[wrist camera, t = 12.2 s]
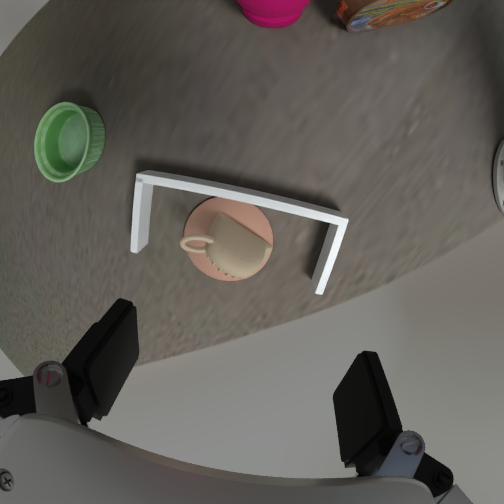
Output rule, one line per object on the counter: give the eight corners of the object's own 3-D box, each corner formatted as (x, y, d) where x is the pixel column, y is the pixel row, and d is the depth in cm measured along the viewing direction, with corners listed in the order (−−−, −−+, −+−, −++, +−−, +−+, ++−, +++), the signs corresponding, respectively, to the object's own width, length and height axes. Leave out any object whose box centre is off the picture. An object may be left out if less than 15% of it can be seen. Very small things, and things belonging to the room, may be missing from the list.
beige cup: (252, 274, 31) (249, 300, 26) (188, 232, 29) (173, 251, 24) (274, 247, 29) (275, 269, 24) (208, 201, 28) (196, 215, 23)
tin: (339, 40, 20) (364, 8, 13) (323, 18, 19) (341, -19, 12) (433, 17, 17) (469, -3, 9) (418, -3, 16) (451, -27, 8)
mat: (282, 207, 28) (282, 207, 27) (261, 287, 31) (261, 288, 31) (191, 187, 27) (190, 188, 27) (180, 269, 31) (179, 270, 31)
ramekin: (50, 125, 25) (28, 126, 21) (101, 90, 23) (79, 86, 19) (66, 186, 28) (44, 194, 24) (119, 158, 26) (97, 162, 22)
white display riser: (340, 211, 28) (348, 219, 25) (317, 281, 31) (322, 294, 28) (148, 169, 27) (136, 173, 24) (141, 241, 30) (130, 251, 27)
